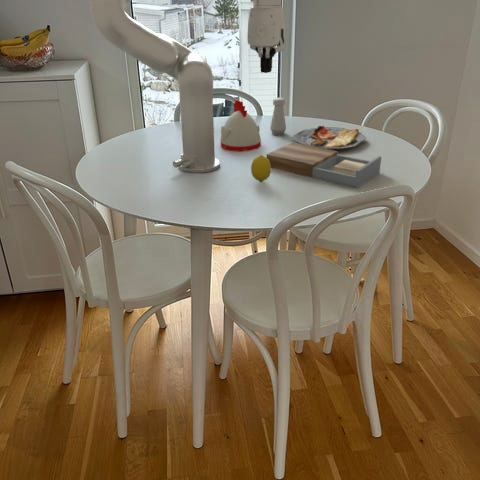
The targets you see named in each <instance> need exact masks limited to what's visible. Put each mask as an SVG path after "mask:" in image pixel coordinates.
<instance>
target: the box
mask: <svg viewBox="0 0 480 480" xmlns="http://www.w3.org/2000/svg"><path fill="white" fill-rule="evenodd" d="M344 160H348V161H353V162H358V163H363V164H366V165H364V166H362V167H361V168H359V169H358V170H356V176H352V175H347V174H343V173H338V172H334V166H335V165H337V164H339V163H340V162H342V161H344ZM381 163H382V156H380V155H379V156H377V157H375V158H374V159H372V160H368V159H367V160H366V159H361V158H357V157H352V156H346V155H341V154H338V153H337V155H335V156H334V157H332V158H330V159H328V160H326V161H324V162H323V163H321V164H319V165H317V166H315V167H314V168H313V174H312V179H315V180H316V179H317V180H321V181H325V182H329V183H332V184H336V185H337V184H338V185H341V186H345V187H351V188H355V189H358V188H360V187H361V186H363V185H365V184H366V183H367V182H368V181H371V179H372V178H374V177H376V176H378V175H379V174H380V172H381V171H380V170H381Z"/></svg>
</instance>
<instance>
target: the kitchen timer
mask: <svg viewBox="0 0 480 480" xmlns="http://www.w3.org/2000/svg"><path fill="white" fill-rule="evenodd" d="M232 105H233V108H234V112H233V113H231V114H230V116H228V118H227V119H226V121H225V122H224V124H223V125H221V129H220V135H221V136H220V148H222V149H224V150H225V151H231V152H249V151H253V150H257V149H259V148H260V147H261V146H262V142H261V141H262V139H261V135H260V124H259V125H258V124H257V123H256V121H255V120H254V118H253V117H252V116H251V114H250V113H248V110H246V106H245V105H244V103H243V101H241V100H238V99H237V100H236V99H235V101H234V102H233V104H232Z"/></svg>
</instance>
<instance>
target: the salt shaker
mask: <svg viewBox="0 0 480 480" xmlns="http://www.w3.org/2000/svg"><path fill="white" fill-rule="evenodd" d="M272 104H273V107H274V108H273V112H272V118H271V122H270V132H271V133H272V135H273V136H284V135H285V132H286V129H287V126H286V118H285V117H286V116H285V109H284V106H285V104H286V100H285V98H284V97H275V98H273V100H272Z"/></svg>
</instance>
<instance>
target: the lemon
mask: <svg viewBox="0 0 480 480" xmlns="http://www.w3.org/2000/svg"><path fill="white" fill-rule="evenodd" d="M250 166H251V167H250V169H251V170H250V171H251V175H252V177H253V178H254V179H255V180H256V181H258V182H259V183H263V181H265V180H268V178H269V177H270V176H271V172H272V171H271V170H272V168H271V164H270V161H269V160H268V158H267V156H265V155H263V154H260V155H258V156H256V157H255V158H254V159H253V160H252V163H251V165H250Z"/></svg>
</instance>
